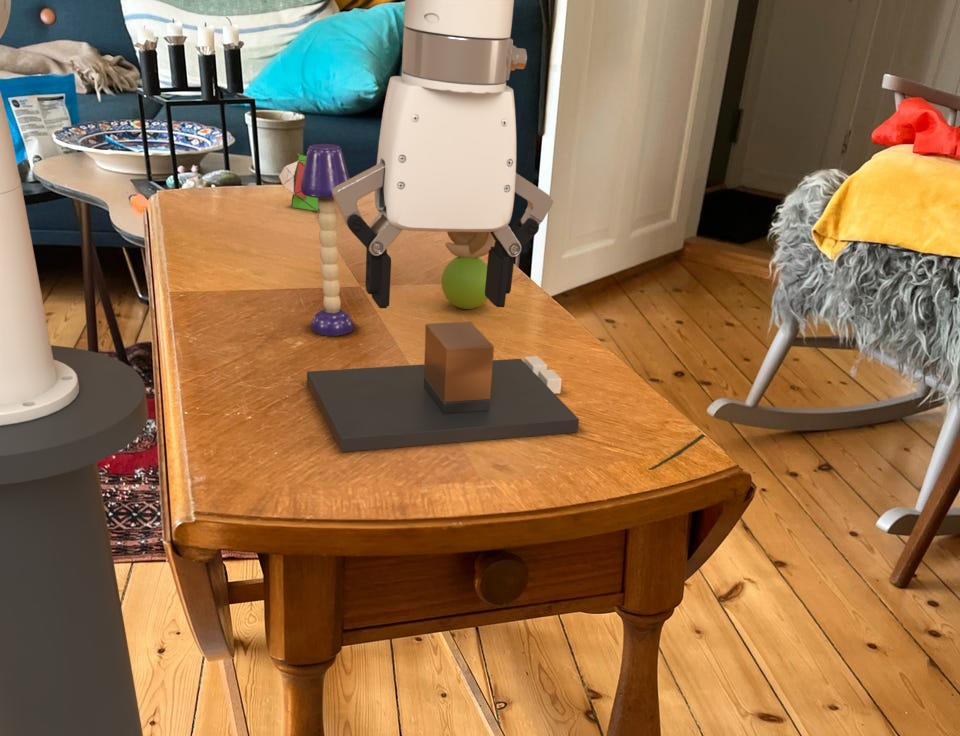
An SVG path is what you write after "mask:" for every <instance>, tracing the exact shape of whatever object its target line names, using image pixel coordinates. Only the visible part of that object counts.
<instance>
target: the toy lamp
mask: <svg viewBox="0 0 960 736" xmlns="http://www.w3.org/2000/svg"><path fill="white" fill-rule="evenodd" d="M305 156H306V162H305V167H304V173H303V179H302V185H301V191H302V193H303V194H304V195H306V196H309V197H314V198H318V201H317V202H318V208H319V212H318V226H319V228H320V229H319V234H318V239H319V243H320V250H319V257H320V261H321V265H320V273H321V277H322V285H321V286H322V292H323V295H324V296H323V302H322V303H323V308H324V309H321V310H319V311H318V312H316V313H315V314H314V316H313V318H312V320H311V324H310V329H311V331H312V332H313V333H314V334H317V335H320V336H325V337H337V336H344V335H347V334H351V332H353V331H354V329H355V327H354V321H353V319H352V318H351V316H350V315H349V314H348V313H347V312H346V311H344V310H342V309H341V306H342V302H341V298H340V295H339V294H340V290H341V284H340V281H339V277H340V266H339V264H338V260H339V250H338V247H337V243H338V232H337V230H336V227H337V223H338V219H337V215H336V213H335V211H336V208H337V204H336V202H335V200H334V198H333V195H332V190H333V188H334V187H335V186H337V185H339V184H341V183H343V182H345V181H347V180H349V179H350V175H349V172H348V168H347V163H346V161H345V157H344V153H343V151H342V148H341V147H340V146H339V145H337V144H331V143H315V144H311V145H309V146H308V148H307V152H306V155H305Z"/></svg>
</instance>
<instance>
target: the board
mask: <svg viewBox="0 0 960 736" xmlns="http://www.w3.org/2000/svg"><path fill="white" fill-rule="evenodd" d="M306 384H307V386H308V389H309V391H310V392H311V394H312V396H313V398H314V401H315V402H316V404H317V407H318V408H319V411H320V412H321V414H322V416H323V419H324V420H325V422H326V424H327V427H328V429H329V430H330V432H331V435H332V437H333V439H334V440H335V443H336V445H337V446H338V449H339V451H340V452H341V453H347V452H361V451H362V452H363V451H373V450H384V449H385V450H386V449H396V448H408V447H409V448H411V447H420V446H421V447H422V446H433V445H444V444H445V445H446V444H457V443H467V442H479V441H480V442H481V441H491V440H504V439H513V438H527V437H538V436H549V435H550V436H551V435H552V436H553V435H563V434H564V435H565V434H573V433H574V434H575V433H578V432H579V430H578V429H579V423H580V418H579V417H577V415H576V414H575V413H574V412H573V411H572V410H571V409H570V408H569V407H568V406H567V405H566V404H565V403H564V402H563V401H562V399H560V398H559V397H558V396H557V394H554V393H553V392H552V391H551V390H550V389H549V388H548V387H547V386H546V384H545V383H544V382H543V381H542V380H541V379H540V378H539V377H538V376H537V375H536V374H535V373H534V372H533V371H532V370H531V369H530V368H529V367H528V366H527V365H526V364H525V363H524V360H522V359H521V358H510V359H509V358H508V359H493V366H492V380H491V394H490V408H489V411H478V412H464V413H451V414H443V412H442V411H441V410H440V408H439V407H438V405H437V404H436V403H435V401H434V400H433V399H432V397H431V396H430V394H429V393H428V392H427V390H426V389H425V387H424V364H410V365H409V364H408V365H394V366H393V365H391V366H376V367H360V368H359V367H358V368H343V369H328V370H309V371H306Z"/></svg>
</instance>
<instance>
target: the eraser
mask: <svg viewBox="0 0 960 736" xmlns="http://www.w3.org/2000/svg"><path fill="white" fill-rule="evenodd" d="M424 332H425V333H424V360H423V361H424V363H423V365H424V387H425V389H426V390H427V392H428V393H429V394H430V396H431V397H432V399H433V400H434V401H435V403H436V404H437V405H438V407H439V408H440V410H441V411H442V412H443V414H451V413H464V412H478V411H489V408H490V394H491V380H492V366H493V360H494V352H495V351H494V350H495V346H494V345H493V344H492V343H491V341H489V339H487V337H486V336H485V335H484V334H483V333H482V332H481V331H480V330H479V329H478V327H476V325H475V324H474V323H473V322H472V321H460V322H458V321H457V322H437V323H436V322H435V323H434V322H433V323H426V324H425V331H424Z"/></svg>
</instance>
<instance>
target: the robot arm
mask: <svg viewBox="0 0 960 736" xmlns="http://www.w3.org/2000/svg"><path fill="white" fill-rule="evenodd" d="M514 3H515V0H404V14H403V15H404V16H403V17H404V18H403V26H404V27H403V36H402V40H403V41H402V59H401V60H402V61H401V63H402V64H401V75H400V76H399V75H394V76H390V78H389V80H388V84H387V88H386V93H385V94H386V95H385V97H384V98H385V100H384V104H383V111H382V115H381V116H382V117H381V123H380V131H379V139H378V147H377V155H376V156H377V157H376V164H375V165H374V166H372V167H370V168H368V169H366V170H364V171H362V172H360V173H358V174H356V175H354V176H353V177H351V178H349V180H347V181H345V182H343V183H341V184H339V185H337V186H335V187H334V188H333V190H332V195H333V198H334V200H335V202H336V207H337V208H338V210H339V213H340V215H341V217H342V218H343V221H344V224H345V225H346V227H347V228H348V229H349V231H350V232H351V233H352V234H353V235H354V236H355V237H356V238H357V239H358V240H359V241H360V242H361V244H362V245H363V246H364V247H365V248H366V254H365V256H366V257H365V291H366V293H367V294H368V295H371V298H372V300H373V301H374V303H375V304H376V305H377V307H378V308H379V309H387V308H388V307H390V297H391V296H390V295H391V275H392V258H391V256H390V255H389V254H388V248H389V247H390V246H391V244H392V243H393V242H394V241H395V240H396V239H397V237H399V235H400V233H402V231H407V232H408V231H409V232H438V233H441V232H442V233H443V232H445V233H447V232H489V233H490V234H491V236H492V237H493V239H494V240H495V245H494V247H491V249H490V250H489V253H488V254H487V263H486V264H487V274H486V284H485V296H486V297H487V298H488V299H487V300H489V301H490V302H491V304H493V305H494V306H495V307H496V308H505V305H506V297H507V294H508V295H509V294H510V293H511V291H512V282H513V274H514V266H515V258H517V257H518V256H519V255H520V254H521V253H522V248H524V246H525V245H526V244H527V243H529V242H530V240H531V239H533V237H535V236H536V235H537V234H538V233H539V229H540V225H541V223H543V222H544V220H545V218H546V216H547V215H548V213H549V211H550V210H551V208H552V206H553V203H554V198H553V197H552V196H551V195H550V194H548V193H547V192H546V191H544V190H543V189H541V188H539V187H538V186H536V185H535V184H534V183H532V182H531V181H529V180H528V179H526V178H525V177H524V176H521V174H519V173H517V123H516V122H517V121H516V119H517V118H516V104H515V103H516V102H515V94H514V89H513V88H512V87H510V86H509V85H507V81H509V80H510V76H511V75H510V74H511V73H512V72H514V71H516V70H524V69H525V68H526V66H527V62H528V61H527V60H528V53H527V50H526V48H519V47H517V46H516V45H514V44H513V43H514V39H512V38H511V34H512V26H513V15H514V5H515V4H514ZM11 7H12V0H0V39H2V37H3V35H4V34H5V31H6V29H7V27H8V23H9V21H10V15H11ZM371 193H374V205H375V209H376V210H377V212H379V213H378V214H377V216H376V217H375V218H374V219H373V220H372V222H371V223H370V224H367V222H366V221H365V220H364V219H363V218H362V216H361V213H360V211H359V208H358V206H357V205H358V201H359V200H360V199H362V198H363V197H366V196H368V195H370V194H371ZM515 194H516V195H518V196H520V197H521V198H523V199H524V200H526V201H527V206H526V209H525V210H524V211H525V212H524V213H523V215H522V216H520V217H519V218H518V219H517V220H516V221H514V223H513V224H512V225H510V226H509V224H510V223H511V220H512V216H513V212H514V204H515ZM27 213H28V212H27V208H26V202H25V198H24V193H23V187H22V182H21V177H20V172H19V166H18V161H17V157H16V152H15V147H14V141H13V137H12V132H11V128H10V124H9V119H8V114H7V112H6V108H5V104H4V99H3V97H2V92H1V91H0V426H4V425H11V424H18V423H22V422H27V421H31V420H35V419H38V418H42V417H45V416H48V415H50V414H52V413H55V412H57V411H59V410H61V409H63V408H64V407H66V406H68V405H69V404H70V403H71V402H72V401H73V400H74V399H75V398H76V396H77V395H78V393H79V383H78V378H77V374H76V373H75V372H74V370H73V369H72V368H70V367H69V366H67V365H66V364H64V363H61V362H59V361H57V360H53V354H52V349H51V345H52V344H51V338H50V332H49V328H48V323H47V315H46V312H45V305H44V301H43V295H42V289H41V284H40V279H39V274H38V268H37V262H36V258H35V251H34V246H33V241H32V235H31V231H30V230H31V229H30V224H29V219H28V214H27Z"/></svg>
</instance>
